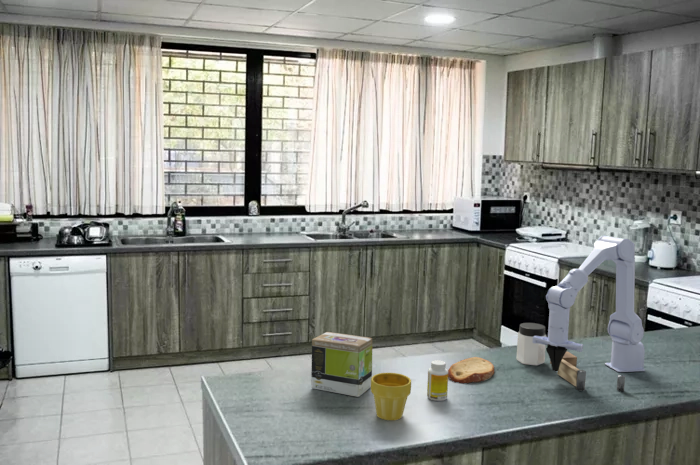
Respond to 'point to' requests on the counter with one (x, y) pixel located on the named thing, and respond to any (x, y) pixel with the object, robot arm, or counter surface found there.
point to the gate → (568, 372)
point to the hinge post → (581, 380)
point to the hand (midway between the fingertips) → (555, 370)
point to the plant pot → (390, 394)
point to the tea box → (341, 363)
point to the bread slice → (471, 370)
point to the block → (570, 359)
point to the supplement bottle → (437, 381)
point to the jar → (530, 344)
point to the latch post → (620, 383)
